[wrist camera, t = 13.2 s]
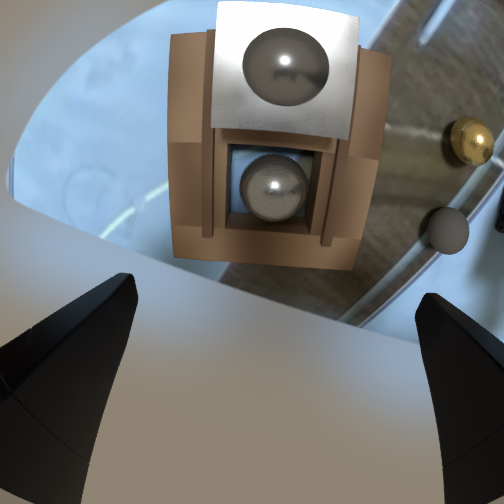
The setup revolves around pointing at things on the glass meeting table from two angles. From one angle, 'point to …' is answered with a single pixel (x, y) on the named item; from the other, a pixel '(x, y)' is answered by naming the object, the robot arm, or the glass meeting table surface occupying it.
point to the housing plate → (221, 139)
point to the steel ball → (273, 187)
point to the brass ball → (472, 141)
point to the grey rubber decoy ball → (448, 230)
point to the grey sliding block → (284, 69)
